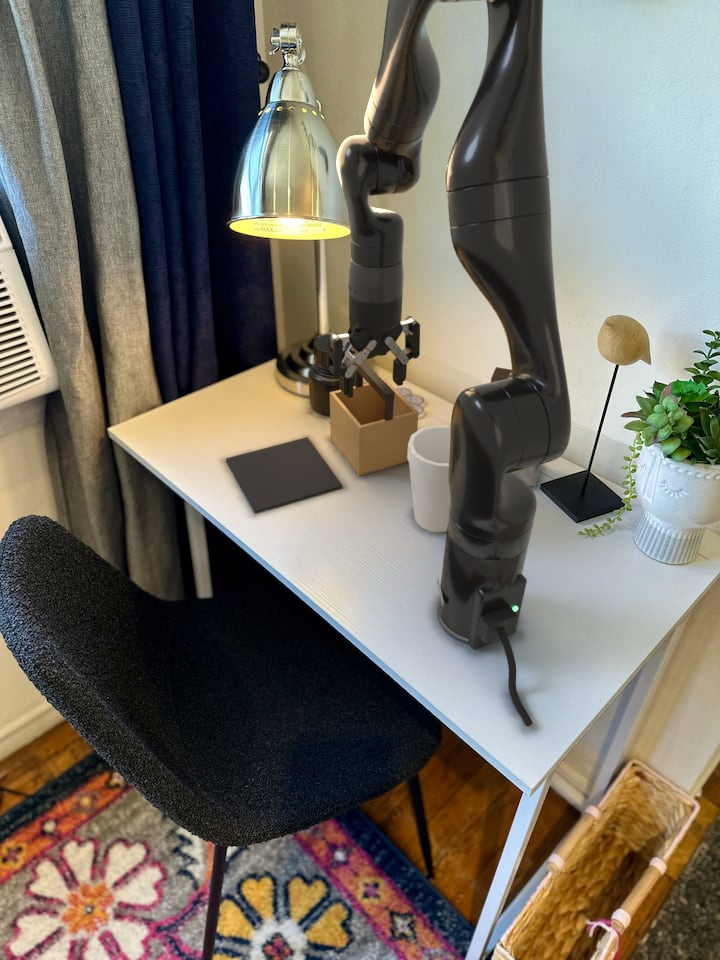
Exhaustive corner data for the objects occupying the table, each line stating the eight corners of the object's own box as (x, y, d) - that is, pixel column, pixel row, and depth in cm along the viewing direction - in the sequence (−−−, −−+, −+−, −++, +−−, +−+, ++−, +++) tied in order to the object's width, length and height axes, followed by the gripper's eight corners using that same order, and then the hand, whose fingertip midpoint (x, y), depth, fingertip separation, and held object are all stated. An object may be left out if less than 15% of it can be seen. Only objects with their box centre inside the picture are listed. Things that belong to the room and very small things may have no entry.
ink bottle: (342, 384, 133) (342, 325, 125) (371, 405, 127) (372, 345, 120) (298, 401, 128) (295, 340, 121) (325, 423, 123) (324, 361, 115)
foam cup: (392, 525, 103) (396, 452, 95) (419, 489, 109) (425, 418, 101) (454, 548, 99) (464, 474, 91) (478, 509, 106) (489, 437, 98)
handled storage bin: (415, 459, 115) (420, 385, 107) (358, 475, 112) (359, 401, 103) (384, 424, 123) (386, 352, 114) (330, 438, 119) (329, 366, 111)
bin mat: (342, 487, 110) (342, 485, 109) (254, 513, 105) (254, 511, 104) (307, 438, 119) (307, 437, 119) (226, 460, 115) (225, 458, 114)
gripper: (340, 309, 95) (341, 412, 105) (433, 290, 100) (425, 390, 110) (318, 287, 100) (320, 387, 110) (408, 271, 105) (402, 368, 115)
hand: (373, 389), depth 110 cm, fingers open, 8 cm apart
